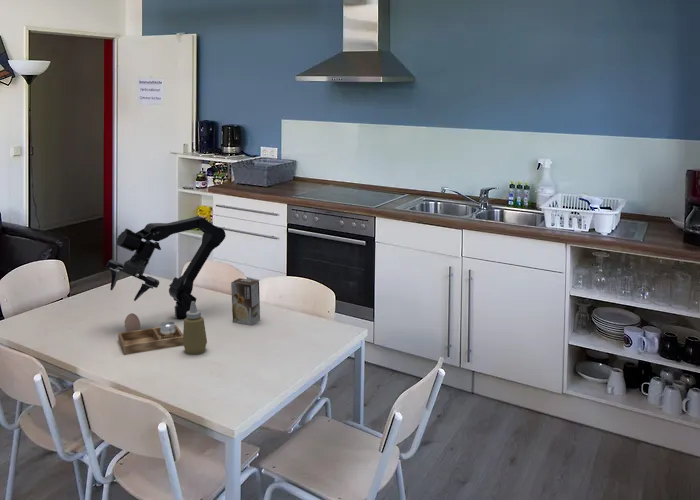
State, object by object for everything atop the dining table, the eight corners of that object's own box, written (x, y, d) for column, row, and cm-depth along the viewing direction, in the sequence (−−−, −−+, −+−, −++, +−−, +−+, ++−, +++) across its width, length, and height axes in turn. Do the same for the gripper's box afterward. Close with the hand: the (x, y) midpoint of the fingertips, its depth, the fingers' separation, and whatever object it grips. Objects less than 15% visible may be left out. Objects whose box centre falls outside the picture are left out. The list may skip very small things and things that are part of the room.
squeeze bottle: (185, 347, 225) (182, 298, 220) (209, 347, 225) (207, 297, 221) (181, 357, 217) (178, 305, 213) (205, 356, 218) (203, 305, 213)
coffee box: (261, 320, 252) (260, 280, 248) (252, 326, 246) (251, 285, 242) (240, 317, 255) (239, 277, 251) (231, 322, 249) (230, 282, 245)
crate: (176, 333, 237) (175, 324, 236) (184, 346, 226) (184, 336, 225) (118, 342, 228) (118, 333, 227) (124, 356, 217) (123, 346, 216)
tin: (174, 336, 233) (173, 320, 231) (177, 341, 228) (176, 325, 227) (159, 338, 231) (158, 322, 229) (162, 343, 226) (161, 327, 225)
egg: (127, 336, 234) (126, 317, 232) (123, 331, 238) (121, 312, 236) (142, 333, 237) (141, 314, 235) (137, 329, 241) (136, 310, 239)
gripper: (111, 243, 229) (91, 283, 227) (160, 264, 229) (140, 305, 227) (121, 246, 240) (101, 285, 238) (167, 267, 240) (148, 306, 238)
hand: (122, 295), depth 235 cm, fingers open, 9 cm apart
